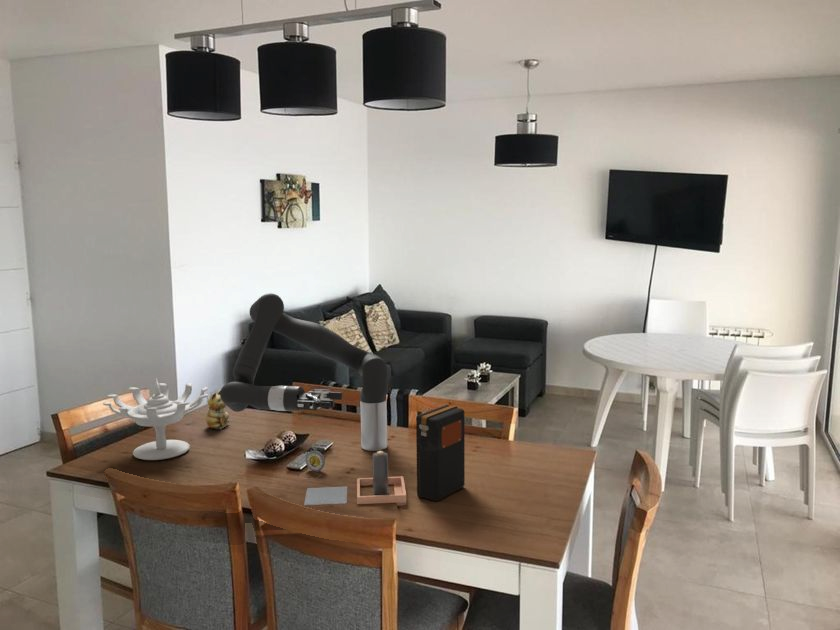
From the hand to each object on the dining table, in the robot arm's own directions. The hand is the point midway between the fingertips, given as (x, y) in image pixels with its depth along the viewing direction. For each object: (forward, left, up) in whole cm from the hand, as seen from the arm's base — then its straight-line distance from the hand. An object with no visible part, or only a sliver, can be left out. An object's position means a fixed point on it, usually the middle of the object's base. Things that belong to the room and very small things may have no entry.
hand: (338, 399), depth 203 cm
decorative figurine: (-66, -50, -28) cm, 87 cm away
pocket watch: (-10, -9, -28) cm, 31 cm away
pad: (+7, -4, -28) cm, 29 cm away
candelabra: (-38, -64, -28) cm, 79 cm away
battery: (+7, +12, -27) cm, 30 cm away
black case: (+6, +30, -28) cm, 41 cm away
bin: (+7, +12, -28) cm, 31 cm away
